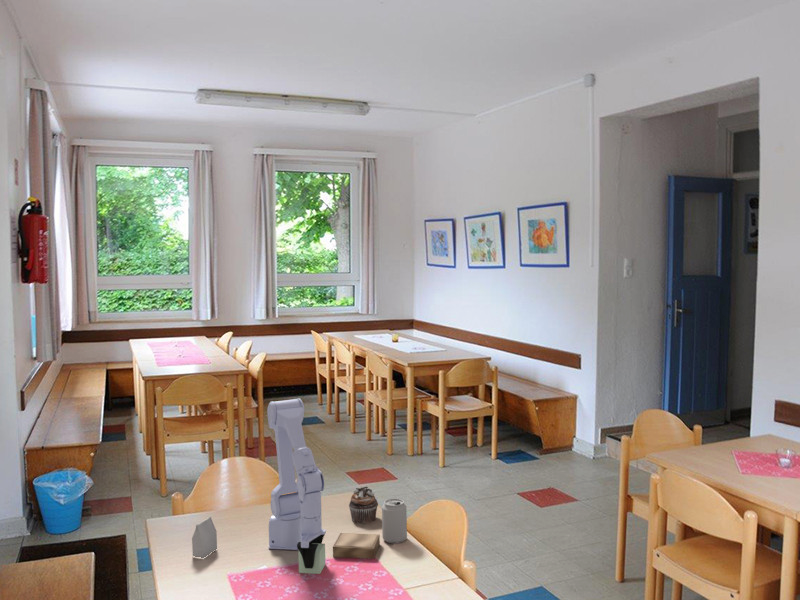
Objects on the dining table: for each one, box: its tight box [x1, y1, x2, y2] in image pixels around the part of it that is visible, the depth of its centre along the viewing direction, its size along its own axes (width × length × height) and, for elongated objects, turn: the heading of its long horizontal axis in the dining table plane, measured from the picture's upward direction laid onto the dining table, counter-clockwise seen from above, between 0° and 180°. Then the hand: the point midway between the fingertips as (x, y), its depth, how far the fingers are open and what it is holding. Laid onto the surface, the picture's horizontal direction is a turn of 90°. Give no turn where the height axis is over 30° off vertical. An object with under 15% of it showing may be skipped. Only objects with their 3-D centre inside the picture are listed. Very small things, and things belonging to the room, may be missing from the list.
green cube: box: [298, 543, 326, 575], centre depth 197 cm, size 6×6×6 cm
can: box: [381, 498, 408, 544], centre depth 215 cm, size 8×8×12 cm
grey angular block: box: [191, 516, 218, 558], centre depth 207 cm, size 4×7×10 cm, turn 160°
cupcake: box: [348, 486, 379, 524], centre depth 233 cm, size 10×10×10 cm
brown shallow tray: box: [332, 532, 381, 560], centre depth 208 cm, size 12×10×3 cm
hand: (312, 562), depth 197 cm, fingers closed on green cube, 6 cm apart
